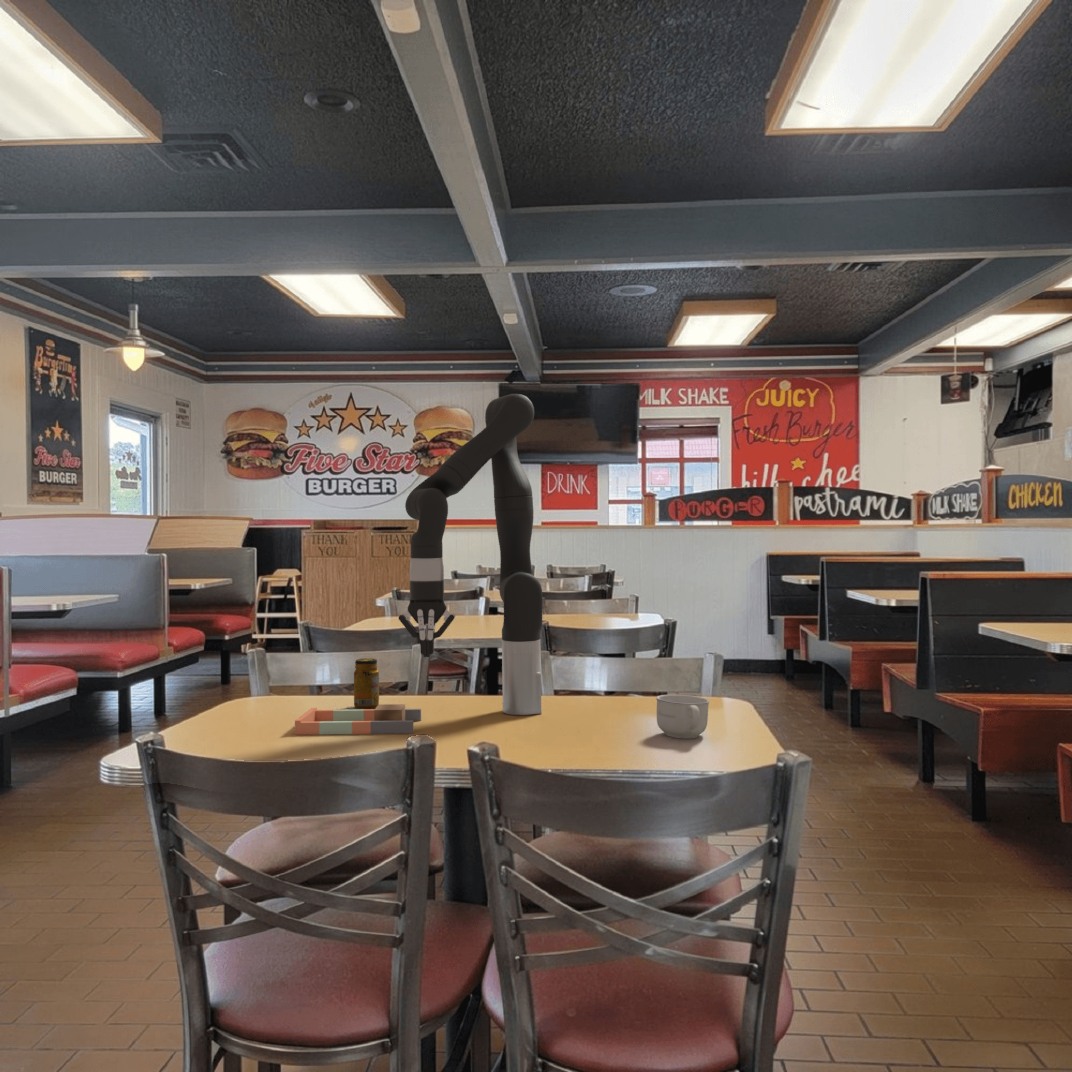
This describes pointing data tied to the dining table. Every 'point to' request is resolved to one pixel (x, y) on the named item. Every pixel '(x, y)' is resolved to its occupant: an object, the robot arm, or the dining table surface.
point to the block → (390, 712)
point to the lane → (352, 722)
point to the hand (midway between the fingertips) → (427, 656)
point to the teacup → (682, 715)
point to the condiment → (366, 684)
